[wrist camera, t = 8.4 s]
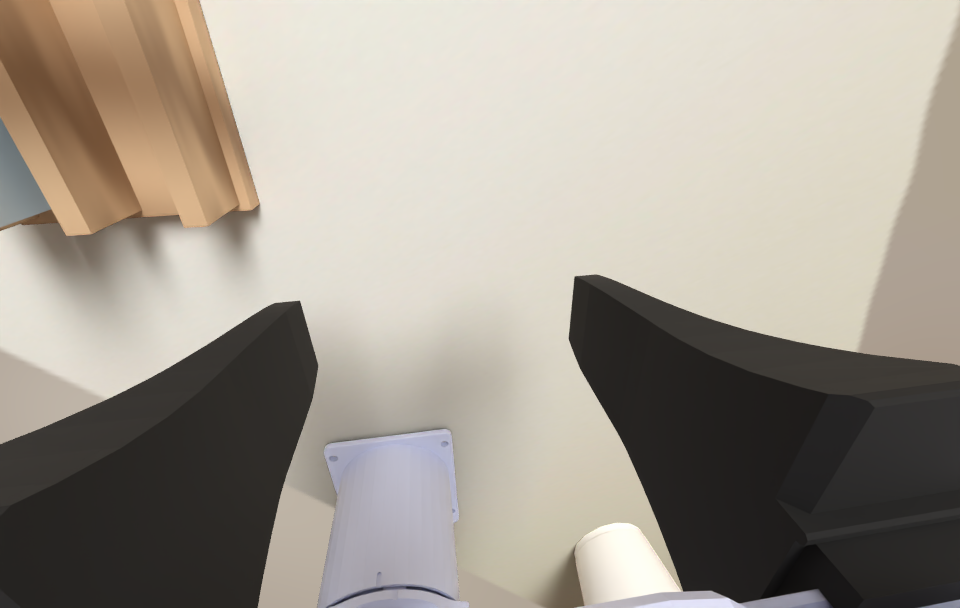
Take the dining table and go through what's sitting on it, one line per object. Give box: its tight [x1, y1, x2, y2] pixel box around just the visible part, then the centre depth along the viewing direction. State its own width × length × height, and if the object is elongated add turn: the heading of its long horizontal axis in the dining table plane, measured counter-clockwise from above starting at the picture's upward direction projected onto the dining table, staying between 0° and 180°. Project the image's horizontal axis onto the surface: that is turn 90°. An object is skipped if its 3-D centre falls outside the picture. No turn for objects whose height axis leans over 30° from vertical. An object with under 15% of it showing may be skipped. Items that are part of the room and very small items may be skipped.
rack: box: [0, 0, 260, 236], centre depth 14 cm, size 9×9×4 cm
